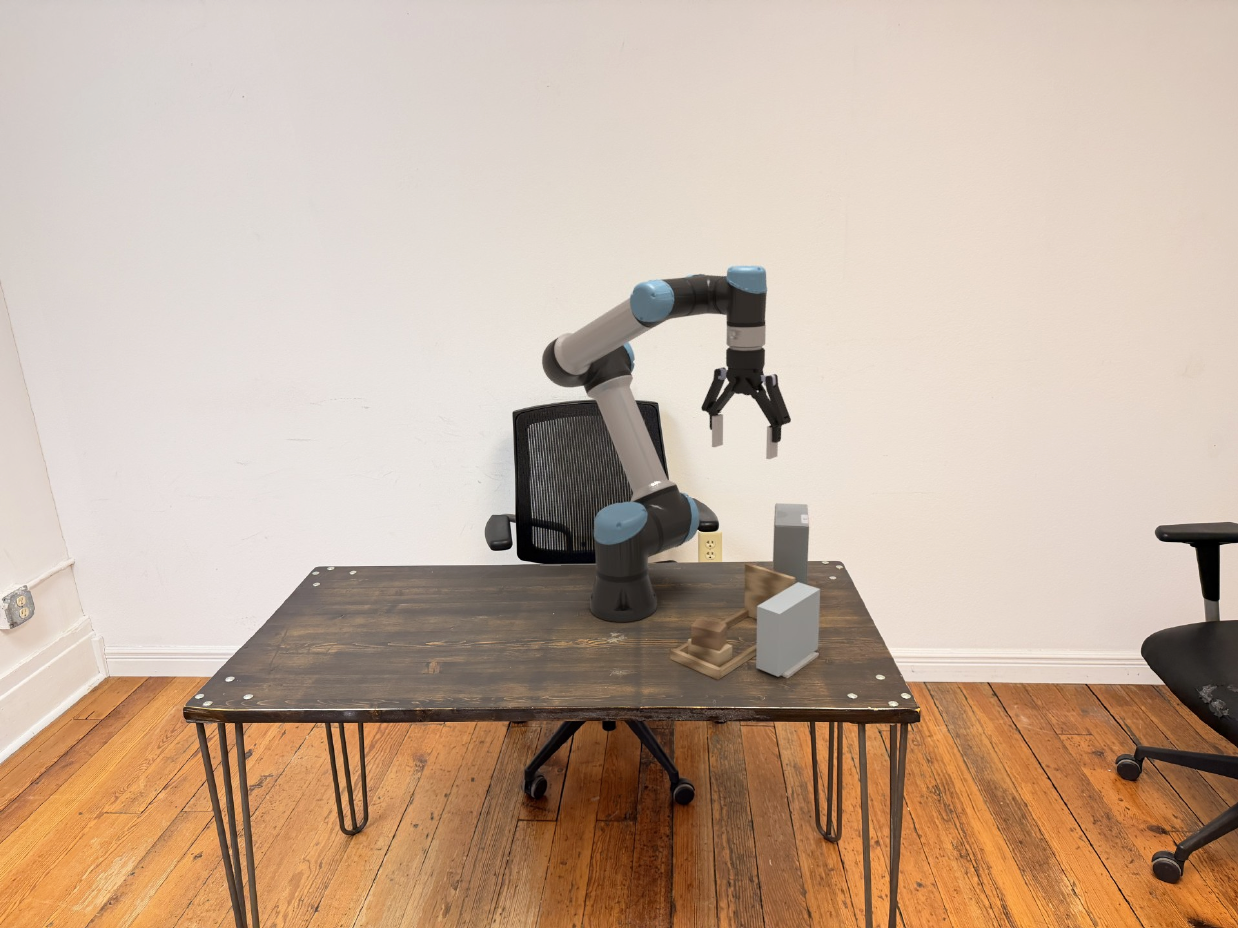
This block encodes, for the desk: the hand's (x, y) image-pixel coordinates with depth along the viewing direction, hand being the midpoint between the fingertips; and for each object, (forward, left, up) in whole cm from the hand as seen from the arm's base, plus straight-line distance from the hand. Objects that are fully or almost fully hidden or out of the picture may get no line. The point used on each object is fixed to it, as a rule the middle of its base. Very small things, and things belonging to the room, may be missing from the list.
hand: (743, 451), depth 166 cm
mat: (+16, -8, -38) cm, 42 cm away
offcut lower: (+5, -17, -38) cm, 42 cm away
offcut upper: (+5, -18, -34) cm, 39 cm away
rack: (+4, -9, -38) cm, 39 cm away
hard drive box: (0, +17, -38) cm, 42 cm away
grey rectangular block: (+16, -8, -38) cm, 42 cm away
